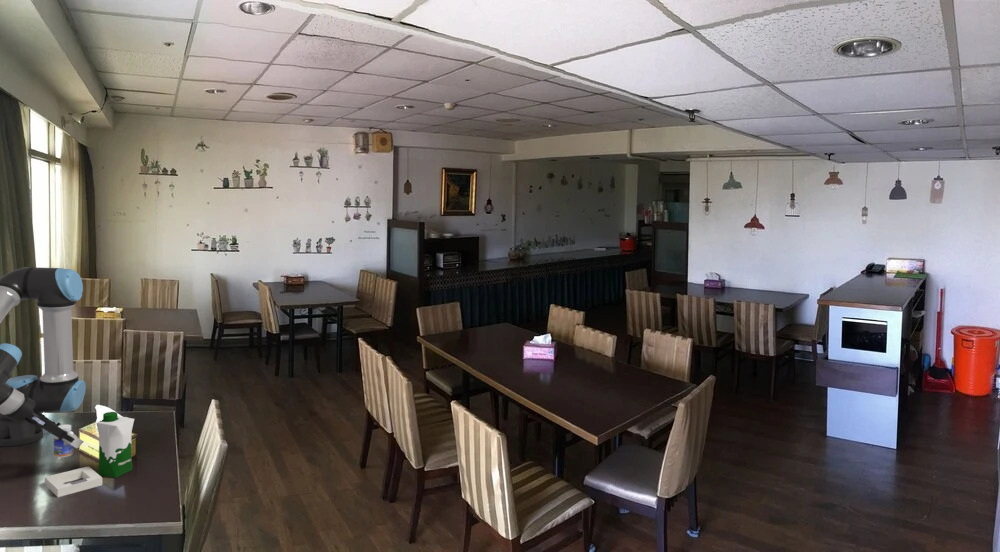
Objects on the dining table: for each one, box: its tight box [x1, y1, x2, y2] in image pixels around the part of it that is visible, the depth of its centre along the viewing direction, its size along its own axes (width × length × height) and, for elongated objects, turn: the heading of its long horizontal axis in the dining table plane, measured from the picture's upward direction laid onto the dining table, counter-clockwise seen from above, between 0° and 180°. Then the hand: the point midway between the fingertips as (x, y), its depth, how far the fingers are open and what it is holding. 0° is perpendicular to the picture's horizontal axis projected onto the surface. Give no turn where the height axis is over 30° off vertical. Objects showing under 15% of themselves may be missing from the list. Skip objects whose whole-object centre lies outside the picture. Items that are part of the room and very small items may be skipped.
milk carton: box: [95, 411, 135, 479], centre depth 202 cm, size 9×9×20 cm
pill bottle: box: [53, 424, 75, 459], centre depth 199 cm, size 5×5×10 cm
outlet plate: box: [44, 466, 103, 498], centre depth 192 cm, size 12×12×3 cm
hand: (76, 442), depth 202 cm, fingers closed on pill bottle, 5 cm apart
